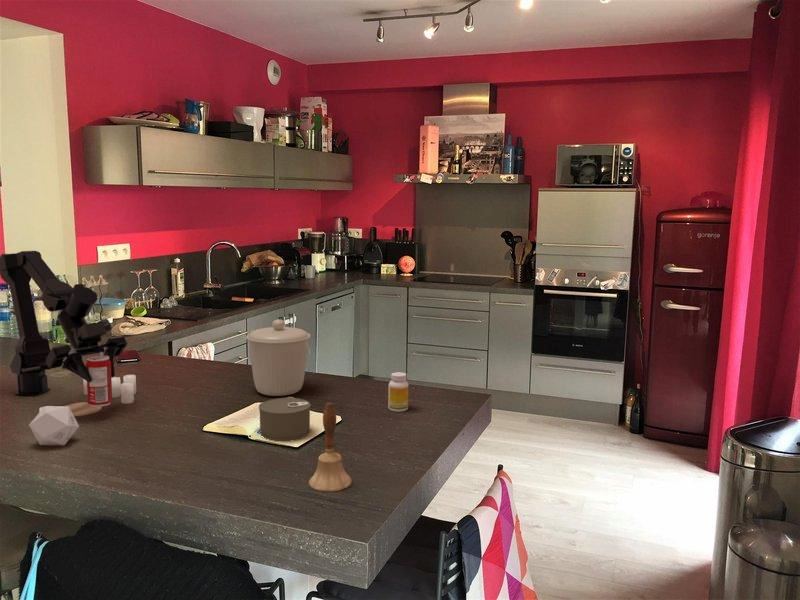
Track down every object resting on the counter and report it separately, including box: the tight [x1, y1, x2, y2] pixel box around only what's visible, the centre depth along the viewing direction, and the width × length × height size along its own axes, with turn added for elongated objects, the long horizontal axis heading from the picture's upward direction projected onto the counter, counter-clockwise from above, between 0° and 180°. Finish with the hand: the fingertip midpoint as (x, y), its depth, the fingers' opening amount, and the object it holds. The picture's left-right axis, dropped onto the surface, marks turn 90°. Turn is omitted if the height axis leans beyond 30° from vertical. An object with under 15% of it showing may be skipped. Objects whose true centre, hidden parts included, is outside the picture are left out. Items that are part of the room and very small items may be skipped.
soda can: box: [85, 355, 113, 407], centre depth 162 cm, size 6×6×12 cm
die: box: [28, 405, 80, 446], centre depth 145 cm, size 8×9×10 cm
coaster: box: [65, 401, 103, 417], centre depth 169 cm, size 10×10×1 cm
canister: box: [245, 319, 312, 397], centre depth 187 cm, size 18×18×21 cm
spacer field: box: [38, 374, 137, 414], centre depth 169 cm, size 17×33×5 cm, turn 177°
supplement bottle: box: [387, 371, 410, 413], centre depth 174 cm, size 5×5×10 cm
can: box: [258, 397, 312, 442], centre depth 154 cm, size 12×12×7 cm
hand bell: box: [308, 401, 352, 492], centre depth 126 cm, size 8×8×16 cm
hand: (102, 378), depth 161 cm, fingers closed on soda can, 5 cm apart
